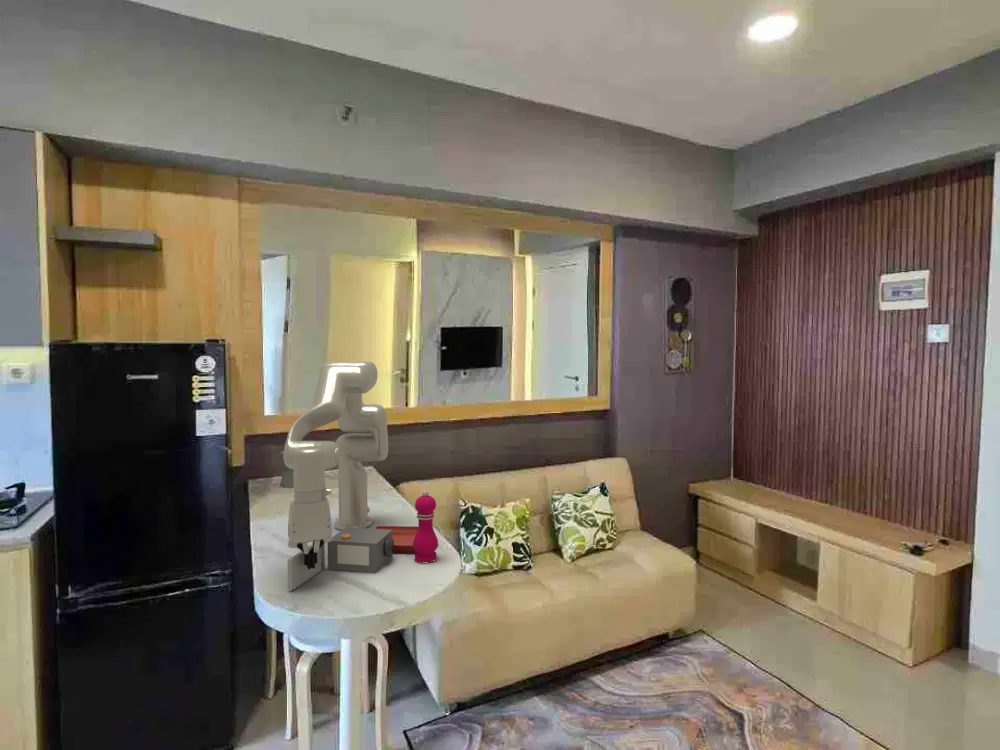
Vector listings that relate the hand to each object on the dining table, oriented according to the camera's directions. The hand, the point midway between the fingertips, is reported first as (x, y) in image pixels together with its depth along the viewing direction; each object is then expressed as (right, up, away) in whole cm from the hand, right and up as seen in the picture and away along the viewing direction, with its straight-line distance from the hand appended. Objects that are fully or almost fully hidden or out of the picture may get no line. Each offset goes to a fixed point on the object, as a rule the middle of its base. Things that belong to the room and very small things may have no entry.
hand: (310, 566), depth 140 cm
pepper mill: (+27, -4, +18) cm, 33 cm away
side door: (-2, -4, +3) cm, 6 cm away
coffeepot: (-44, -1, +107) cm, 115 cm away
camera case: (+9, -4, +15) cm, 18 cm away
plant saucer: (+17, -4, +31) cm, 36 cm away
